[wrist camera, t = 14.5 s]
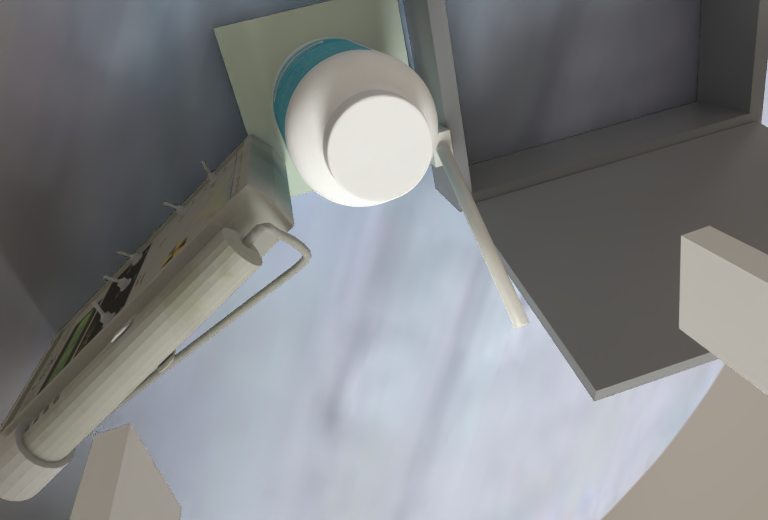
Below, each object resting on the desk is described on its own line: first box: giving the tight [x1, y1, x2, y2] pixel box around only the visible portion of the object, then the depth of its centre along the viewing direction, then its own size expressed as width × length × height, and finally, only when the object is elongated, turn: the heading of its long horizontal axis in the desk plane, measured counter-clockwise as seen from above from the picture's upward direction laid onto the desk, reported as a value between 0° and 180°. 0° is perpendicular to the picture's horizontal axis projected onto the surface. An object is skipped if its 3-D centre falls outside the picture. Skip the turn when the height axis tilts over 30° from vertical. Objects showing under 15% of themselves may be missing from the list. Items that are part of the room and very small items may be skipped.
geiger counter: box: [0, 134, 311, 501], centre depth 33 cm, size 14×6×25 cm
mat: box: [214, 0, 409, 197], centre depth 36 cm, size 11×11×1 cm
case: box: [403, 0, 768, 401], centre depth 31 cm, size 19×23×20 cm
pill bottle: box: [272, 37, 438, 207], centre depth 30 cm, size 8×7×14 cm
